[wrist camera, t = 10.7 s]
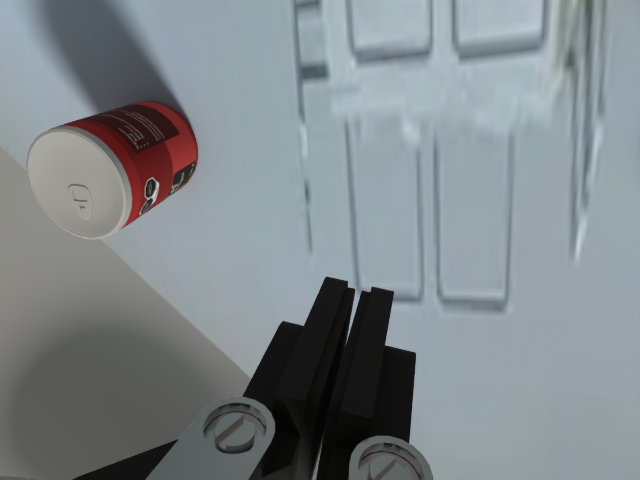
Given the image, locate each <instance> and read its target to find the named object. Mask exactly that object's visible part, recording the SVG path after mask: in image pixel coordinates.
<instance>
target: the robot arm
mask: <svg viewBox="0 0 640 480" xmlns="http://www.w3.org/2000/svg"><path fill="white" fill-rule="evenodd" d="M354 295H355V289H353V288H348V281H344V280H340V279H335V278H331V277H326V278H325V279H324V282H323V284H322V286H321V289H320V291H319V293H318V295H317V298H316V300H315V302H314V304H313V307H312V309H311V311H310V313H309V316H308V318H307V320H306V322H305V325H304V326H302V325H298V324H293V323H289V322H285V321H283V322H281V324H280V325H279V327H278V329H277V331H276V333H275V335H274V337H273V339H272V341H271V343H270V344H269V346H268V348H267V350H266V352H265V354H264V356H263V358H262V360H261V362H260V364H259V366H258V367H257V369H256V371H255V373H254V375H253V377H252V379H251V381H250V383H249V385H248V387H247V389H246V391H245V392H244V394H243V396H242V397H229V398H224V399H220V400H218V401H216V402H214V403H212V404H210V405H209V406H208V407H207V408H206V409H204V410H203V411H202V412H201V414H200V415H199V416H198V417H197V418H196V420H195V421H194V422H193V423H192V424H191V425H190V427H189V428H188V429H187V430H186V431H185V433H184V434H183V435H182V436H181V437H180V439H178V440H175V441H172V442H170V443H167V444H164V445H162V446H159V447H156V448H154V449H151V450H148V451H146V452H143V453H140V454H138V455H135V456H132V457H130V458H127V459H124V460H122V461H119V462H116V463H114V464H111V465H108V466H106V467H103V468H100V469H98V470H95V471H92V472H90V473H87V474H84V475H82V476H79V477H77V478H75V479H73V480H312V477H313V473H314V470H315V467H316V463H317V459H318V455H319V452H320V449H321V455H320V460H319V466H318V473H317V478H316V480H433V475H432V472H431V469H430V465H429V464H428V462H427V461H426V459H425V458H424V456H423V455H422V454H421V453H420V452H419V451H418V450H417V449H416V448H415V447H414V446H413V445H411V444H409V439H410V426H411V413H412V401H413V388H414V375H415V363H416V353H415V352H410V351H406V350H402V349H398V348H394V347H390V346H385V341H386V335H387V330H388V324H389V318H390V312H391V307H392V301H393V295H394V291H389V290H385V289H380V288H376V287H372V289H371V292H366V291H362V292H361V296H360V299H359V303H358V306H357V309H356V313H355V316H354V320H353V323H352V327H351V330H350V334H349V337H348V340H347V335H348V330H349V324H350V318H351V312H352V306H353V301H354ZM346 341H347V344H346ZM321 445H322V448H321ZM0 480H51V479H42V478H25V477H9V476H0Z"/></svg>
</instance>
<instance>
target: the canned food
mask: <svg viewBox="0 0 640 480" xmlns="http://www.w3.org/2000/svg"><path fill="white" fill-rule="evenodd" d="M197 160H198V147H197V143H196V139H195V136H194V134H193V131H192V130H191V128H190V126H189V125H188V123H187V122H186V121H185V120H184V118H183V117H182V116H181V115H180V114H178V113H177V112H176V111H175V110H173V109H172V108H170V107H168V106H166V105H163V104H160V103H156V102H149V101H145V102H138V103H134V104H131V105H128V106H124V107H121V108H117V109H114V110H110V111H107V112H104V113H100V114H97V115H93V116H90V117H86V118H83V119H80V120H76V121H73V122H69V123H66V124H64V125H60V126H57V127H55V128H52V129H49V130H48V131H46V132H43V133H42V134H40V135H39V136H38V137H37V138H36V139H35V140H34V142H33V143H32V144H31V146H30V149H29V152H28V156H27V175H28V180H29V184H30V187H31V189H32V192H33V194H34V196H35V198H36V200H37V202H38V203H39V205H40V206H41V208H42V209H43V210H44V212H45V213H46V214H47V215H48V216H49V218H51V219H52V221H53V222H55V223H56V224H57V225H58V226H60V227H61V228H62V229H64V230H65V231H67V232H69V233H71V234H73V235H75V236H78V237H80V238H85V239H101V238H105V237H108V236H109V235H112V234H114V233H116V232H117V231H119V230H121V229H122V228H123V227H125V226H127V225H128V224H130V223H131V222H133V221H134V220H136V219H137V218H139V217H140V216H142V215H143V214H144V213H146V212H147V211H149V210H150V209H152V208H153V207H155V206H156V205H158V204H159V203H160V202H162V201H163V200H165V199H166V198H168V197H169V196H171V195H172V194H173V193H175V192H176V191H178V190H179V189H181V188H182V187H184V186H185V185H186V184H187V183H188V182H189V180H190V179H191V177H192V175H193V173H194V171H195V168H196V165H197Z"/></svg>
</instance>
